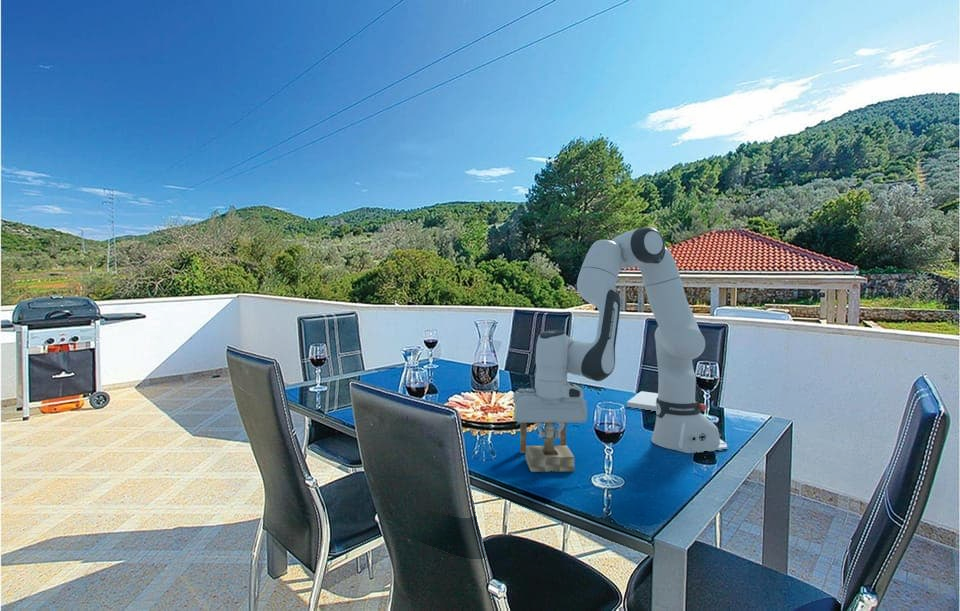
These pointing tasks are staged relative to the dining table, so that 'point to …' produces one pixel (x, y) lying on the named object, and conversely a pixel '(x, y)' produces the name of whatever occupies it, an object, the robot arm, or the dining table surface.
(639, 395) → the food packaging
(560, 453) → the socket block
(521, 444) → the brown wooden arch
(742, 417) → the dining table surface
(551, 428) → the peg
